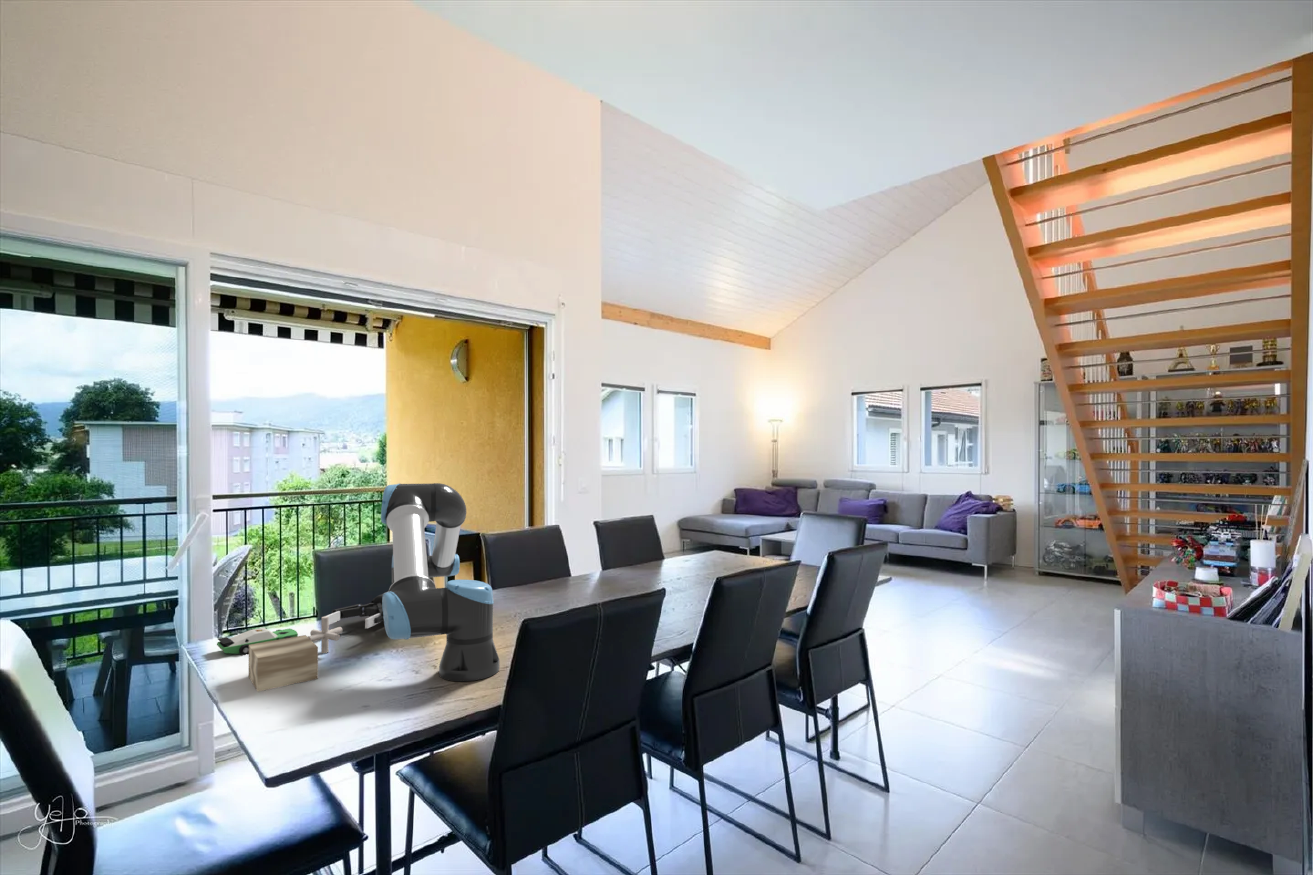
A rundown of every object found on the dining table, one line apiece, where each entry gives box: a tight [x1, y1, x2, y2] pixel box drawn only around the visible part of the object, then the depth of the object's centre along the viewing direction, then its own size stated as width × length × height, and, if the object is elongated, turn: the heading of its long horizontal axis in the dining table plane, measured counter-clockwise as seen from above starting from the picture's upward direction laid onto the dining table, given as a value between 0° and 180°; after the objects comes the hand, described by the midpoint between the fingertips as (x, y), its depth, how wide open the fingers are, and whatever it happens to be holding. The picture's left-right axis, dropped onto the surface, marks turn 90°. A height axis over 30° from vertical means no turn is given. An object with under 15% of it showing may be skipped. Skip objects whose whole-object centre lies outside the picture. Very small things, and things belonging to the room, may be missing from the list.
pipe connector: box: [307, 615, 343, 654], centre depth 182 cm, size 10×10×10 cm
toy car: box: [216, 627, 299, 656], centre depth 187 cm, size 10×19×5 cm, turn 136°
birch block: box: [248, 634, 319, 693], centre depth 163 cm, size 13×13×8 cm
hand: (345, 622), depth 191 cm, fingers open, 13 cm apart
